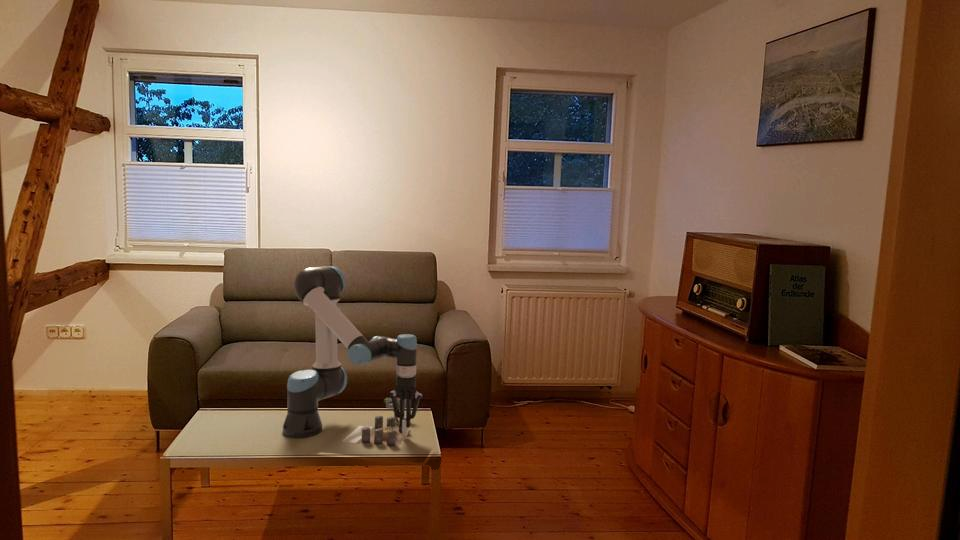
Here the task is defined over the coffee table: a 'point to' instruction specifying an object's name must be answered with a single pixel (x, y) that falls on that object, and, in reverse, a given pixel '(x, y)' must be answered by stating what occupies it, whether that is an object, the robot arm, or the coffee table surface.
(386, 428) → the star-shaped block
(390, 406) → the mechanical component
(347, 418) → the coffee table surface
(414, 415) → the robot arm
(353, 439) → the board
